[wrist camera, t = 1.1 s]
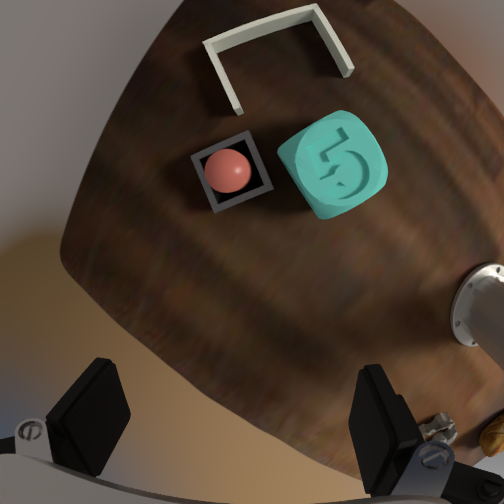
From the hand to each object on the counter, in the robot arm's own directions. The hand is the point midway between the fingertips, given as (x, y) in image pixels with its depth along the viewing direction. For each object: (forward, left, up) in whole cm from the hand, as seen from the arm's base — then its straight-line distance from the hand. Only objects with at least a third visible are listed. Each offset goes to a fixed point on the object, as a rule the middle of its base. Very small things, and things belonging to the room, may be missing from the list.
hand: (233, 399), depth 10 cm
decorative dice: (-10, -6, -26) cm, 28 cm away
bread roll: (-32, +52, -26) cm, 66 cm away
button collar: (0, -9, -25) cm, 27 cm away
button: (0, -9, -22) cm, 24 cm away
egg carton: (-14, +41, -26) cm, 50 cm away
